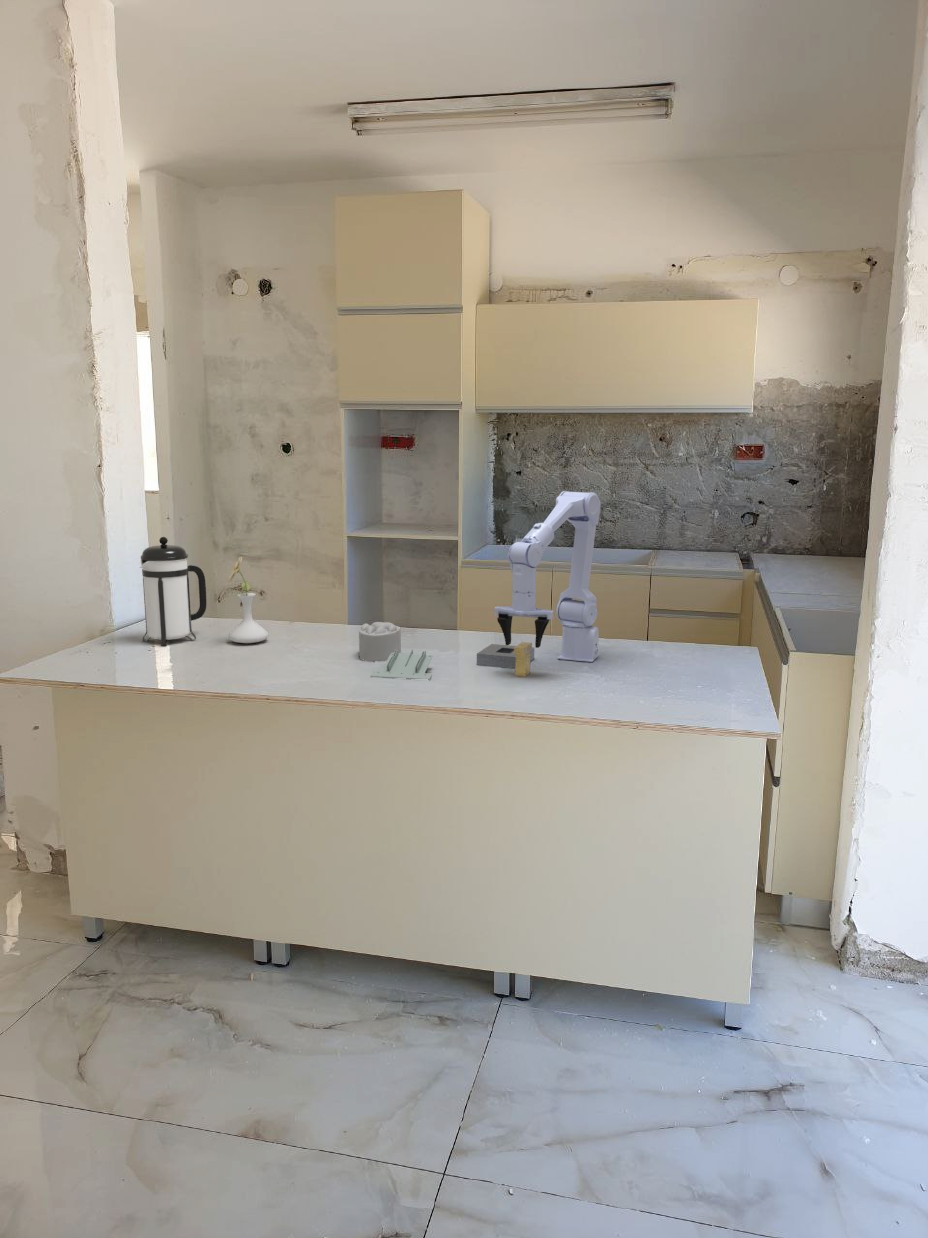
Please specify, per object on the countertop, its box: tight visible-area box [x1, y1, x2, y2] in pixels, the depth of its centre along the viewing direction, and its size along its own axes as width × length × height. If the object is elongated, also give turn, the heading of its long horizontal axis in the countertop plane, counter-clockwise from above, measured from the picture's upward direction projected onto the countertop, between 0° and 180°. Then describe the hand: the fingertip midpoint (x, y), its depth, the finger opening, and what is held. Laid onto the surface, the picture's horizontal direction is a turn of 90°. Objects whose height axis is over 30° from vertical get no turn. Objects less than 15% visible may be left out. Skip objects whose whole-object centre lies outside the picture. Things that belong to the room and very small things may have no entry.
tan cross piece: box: [514, 641, 533, 678], centre depth 230 cm, size 2×7×8 cm, turn 159°
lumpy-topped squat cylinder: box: [358, 621, 402, 662], centre depth 249 cm, size 10×13×9 cm
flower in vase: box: [227, 556, 269, 644], centre depth 263 cm, size 13×11×25 cm
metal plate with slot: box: [476, 643, 535, 670], centre depth 243 cm, size 12×12×3 cm
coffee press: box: [138, 536, 207, 647], centre depth 265 cm, size 17×16×30 cm
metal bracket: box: [370, 649, 434, 681], centre depth 232 cm, size 14×6×15 cm
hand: (523, 645), depth 229 cm, fingers open, 7 cm apart
